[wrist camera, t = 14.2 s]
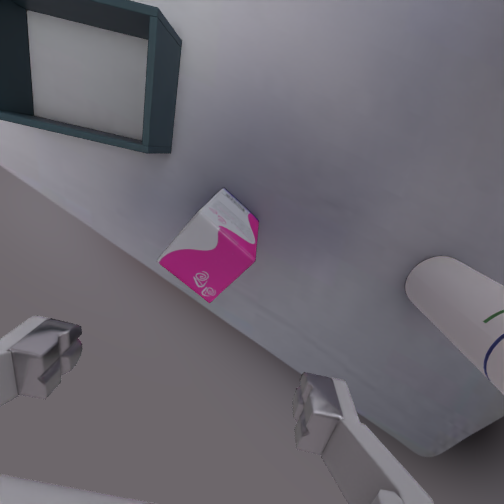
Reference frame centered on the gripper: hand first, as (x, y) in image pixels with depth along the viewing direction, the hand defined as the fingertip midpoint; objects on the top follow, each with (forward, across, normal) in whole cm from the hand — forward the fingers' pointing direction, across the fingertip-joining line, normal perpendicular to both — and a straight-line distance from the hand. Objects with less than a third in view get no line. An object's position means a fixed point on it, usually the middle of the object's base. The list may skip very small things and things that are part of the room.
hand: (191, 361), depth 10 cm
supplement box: (+22, +2, +1) cm, 23 cm away
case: (+22, +17, -10) cm, 30 cm away
